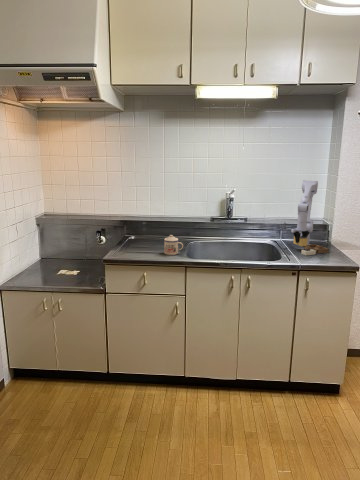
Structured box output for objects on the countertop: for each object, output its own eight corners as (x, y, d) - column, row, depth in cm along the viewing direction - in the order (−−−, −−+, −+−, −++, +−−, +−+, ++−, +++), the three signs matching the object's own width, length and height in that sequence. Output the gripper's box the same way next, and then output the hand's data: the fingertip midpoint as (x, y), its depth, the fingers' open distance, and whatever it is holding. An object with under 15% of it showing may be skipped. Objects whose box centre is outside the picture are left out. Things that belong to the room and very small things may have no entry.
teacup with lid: (162, 254, 225) (162, 236, 222) (165, 251, 234) (165, 233, 231) (181, 255, 223) (182, 237, 221) (183, 251, 232) (184, 234, 229)
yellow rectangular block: (292, 243, 241) (293, 235, 240) (297, 242, 243) (298, 234, 241) (301, 246, 233) (302, 238, 232) (306, 245, 235) (307, 237, 234)
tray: (304, 248, 244) (304, 245, 243) (315, 247, 247) (315, 244, 246) (317, 253, 232) (317, 250, 232) (328, 252, 236) (329, 248, 235)
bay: (301, 253, 231) (301, 249, 231) (310, 252, 234) (311, 248, 234) (305, 255, 228) (306, 251, 227) (315, 254, 230) (315, 250, 230)
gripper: (297, 223, 228) (295, 244, 231) (315, 222, 233) (313, 243, 236) (289, 221, 234) (288, 242, 237) (308, 220, 239) (306, 240, 242)
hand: (300, 242), depth 237 cm, fingers closed on yellow rectangular block, 4 cm apart
